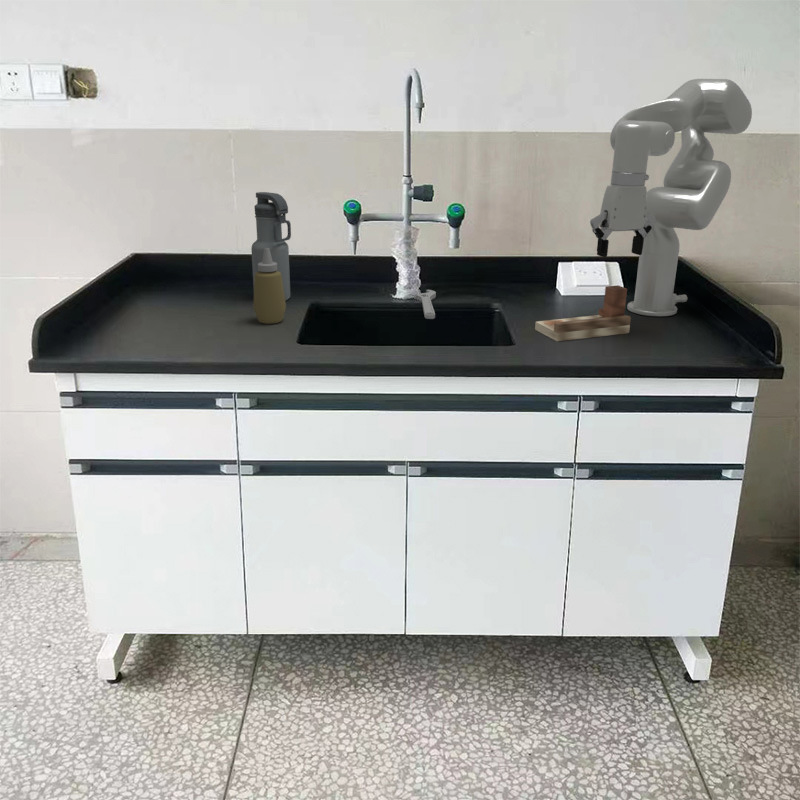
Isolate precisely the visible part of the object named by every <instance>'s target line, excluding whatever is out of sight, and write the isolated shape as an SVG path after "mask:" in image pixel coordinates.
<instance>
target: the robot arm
mask: <svg viewBox="0 0 800 800" xmlns="http://www.w3.org/2000/svg"><path fill="white" fill-rule="evenodd" d="M752 109H753V108H752V104H751V102H750V100H749V99H748V97H747V96H746V95H745V93H744V91H743V89H742V88H741V87H740V85H738V84H737V83H736V82H735V81H733V80H731V79H727V78H695V79H689V80H687V81H686V82H684V83H683V84H682V85H680V86H679V87H678V88H677V89H676V90H674V91H673V92H672V93H671V94H670V95H669V96H667V97H666V98H665V99H662V100H657V101H654V102H652V103H648V104H645V105H642V106H639V107H636V108H634V109H632V110H630V111H628V112H627V113H625V114H624V115H623V116H622V117H621V118H619V120H617V122H616V123H615V124H614V126H613V128H612V130H611V133H610V137H609V138H610V139H609V142H610V146H611V148H612V150H613V161H612V169H611V177H610V185H607V186H606V189H605V191H604V194H603V198H602V202H601V208H600V213H599V214H598V215H597V216H595V217H594V218H592V219H590V221H589V223H590V226H591V228H592V229H591V230H592V233H593V234H594V235H595V238H597V243H596V244H597V246H596V255H597V256H599V257H601V258H607V257H608V251H609V242H610V241H609V239H608V237H610V235H611V234H612V233H613V232H628V231H629V232H630V231H632V232H633V233H634V235H633V237H632V244H631V253H632V254H634V255H637V256H639V258H638V264H637V274H636V283H635V292H634V296H633V297H634V299H633V301H630V302H628V303H627V307H626V309H627V310H628V311H629V312H631V313H634V314H638V315H642V316H648V317H669V316H674V315H675V314H678V307H677V306H676V304H678V303H685V302H687V301H688V296H687V295H686V294H678V295H677V293H674V289H675V282H676V274H677V267H678V261H679V253H680V239H679V238H678V235H677V233H676V231H675V228H676V229H683V230H684V229H685V230H691V231H701V230H702V231H703V230H704V229H705V228H707V227H708V226H710V224H711V222H712V220H713V218H714V217H715V215H716V213H717V212H718V211H719V208H720V206H721V204H722V203H723V201H724V199H725V197H726V195H727V194H728V191H729V189H730V185H731V182H732V172H731V168H730V166H729V165H728V164H727V163H726V162H724V161H722V160H717V159H716V160H715V159H714V156H715V154H714V148H713V146H712V144H711V142H710V141H709V139H708V137H706V136H705V133H706V134H707V133H709V134H723V135H724V134H726V135H739V134H742V133H744V132H745V131H746V130H747V129H748V128H749V127H750V126H749V125H750V124H751V122H752V119H753V118H752V115H753V112H752V111H753V110H752ZM678 132H680V137H681V146H680V149H679V151H678V153H677V154H676V156H675V157H674V159H673V161H672V162H671V164H670V165H669V167H668V170H667V171H666V172H665V174H664V178H663V182H662V183H663V186H656V187H653V188H651V189H648V190H647V186H645V184H646V181H648V180H649V179H650V175H649V174H647V169H648V162H649V161H648V160H649V157H660V156H663V155H666V154H667V153H669V151H671V149H672V148H673V146H674V144H675V139H676V135H675V133H678ZM713 159H714V160H713Z"/></svg>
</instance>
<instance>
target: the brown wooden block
mask: <svg viewBox="0 0 800 800" xmlns="http://www.w3.org/2000/svg"><path fill="white" fill-rule="evenodd" d="M627 293H628V288H626V287H623V286H621V285H618V284H617V285H610V286H609V285H607V286H605V288H604V298H603V307H602V308H598V315H600V316H602V318H606V317H615V316H624V315H625V312H626V311H625V310H626V302H627Z"/></svg>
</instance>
